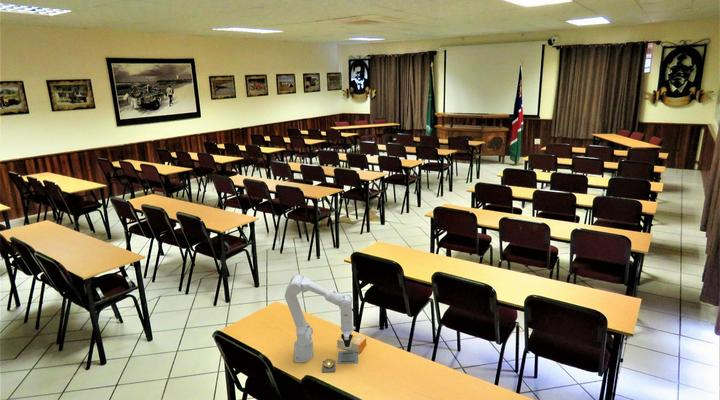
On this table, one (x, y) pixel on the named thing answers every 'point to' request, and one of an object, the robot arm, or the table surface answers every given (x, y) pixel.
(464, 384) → the table surface
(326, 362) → the plunger
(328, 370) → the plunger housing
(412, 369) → the table surface
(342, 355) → the filter base
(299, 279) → the robot arm
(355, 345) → the supplement box
